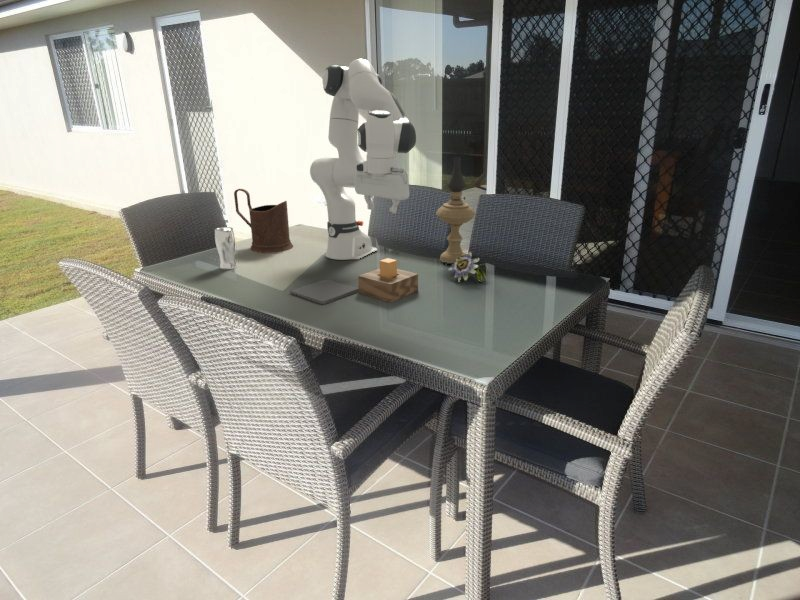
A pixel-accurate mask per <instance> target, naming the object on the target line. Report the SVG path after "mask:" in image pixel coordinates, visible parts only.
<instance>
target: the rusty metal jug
mask: <svg viewBox="0 0 800 600" xmlns="http://www.w3.org/2000/svg"><path fill="white" fill-rule="evenodd" d="M240 191H241V192H242V193H244V194H245V195H246V200H247V206H248V211H249V220H248V219H247V218H246V217H245V216H244V215H243V214H242V213H241V211H240V210H239V209H240V208H239V201H238V192H240ZM233 195H234V196H233V197H234V204H235V212H236V214H237V215H238V216H239V217H240V218H241V219H242V220H243V221H244V222H245V223H246V225H248V227H250V230H251V240H252V242H251V245H250V247H249V249H250V251H252V252H254V253H258V254H259V253H260V254H275V253H276V254H277V253H282V252H286V251H290V250H291V249H293V248H294V245H293V243H292V242H291V241H292V240H291V239H290V229H289V228H290V227H289V214H288V213H289V212H288V201H287V200H284V201H282V202H280V203H278V204H266V205H265V204H264V205H261V206H256V207H253V208H252V205H251V196H250V193H249V191H248V190H246V189H244V188H237V189H236V190H234V191H233Z"/></svg>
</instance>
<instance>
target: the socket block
mask: <svg viewBox="0 0 800 600" xmlns="http://www.w3.org/2000/svg"><path fill="white" fill-rule="evenodd" d="M357 279H358V289H359V292H358V293H359V294H360V295H361V294H362V295H365V296H368V297H371V298H375V299H378V300H381V301H385V302H388V303H392V302H395V301H398V300H400V299H403V298H405V297H406V296H409V294H410V295H411V293H412V294H414V292H415V293H416V291H417V292H418V291H419V273H415V272H412V271H408V270H404V269H399V268H397V276H395V277H392V278H385V277H381V276H380V268H377V269H373V270H371V271H368V272H366V273H362V274H359V275H358V277H357Z"/></svg>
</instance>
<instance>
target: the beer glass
mask: <svg viewBox="0 0 800 600" xmlns="http://www.w3.org/2000/svg"><path fill="white" fill-rule="evenodd" d="M214 241H215V245H216V249H217V253H218V256H219V261H220V262H219V264H220V265H219V268H220V270H225V271H226V270H234V269H236V268H237V262H236V259H235V250H236V241H235V233H234V228H233V227H230V226H229V227H226V226H223V227H222V226H221V227H216V228H215V229H214Z"/></svg>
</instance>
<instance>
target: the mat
mask: <svg viewBox="0 0 800 600" xmlns="http://www.w3.org/2000/svg"><path fill="white" fill-rule="evenodd" d="M289 293H290V295H293V294H294V295H293V296H296V295H297V296H296V297H299V296H300V297H299V298H302V297H303V298H302V299H305V298H306V299H305V300H308V301H311V300H312V301H311V302H314V303H318V304H319V305H322V306H323V305H326V304H328V303H331V302H334V301H337V300H340V299H342V298H345V297H348V296H350V295H353V294H355V293H359V287H354V286H351V285H348V284H344V283H341V282H337V281H334V280H329V279H328V278H327V279H323V280H319V281H316V282H313V283H309V284H307V285H303V286H301V287H297V288H295V289H291V290H289Z"/></svg>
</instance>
